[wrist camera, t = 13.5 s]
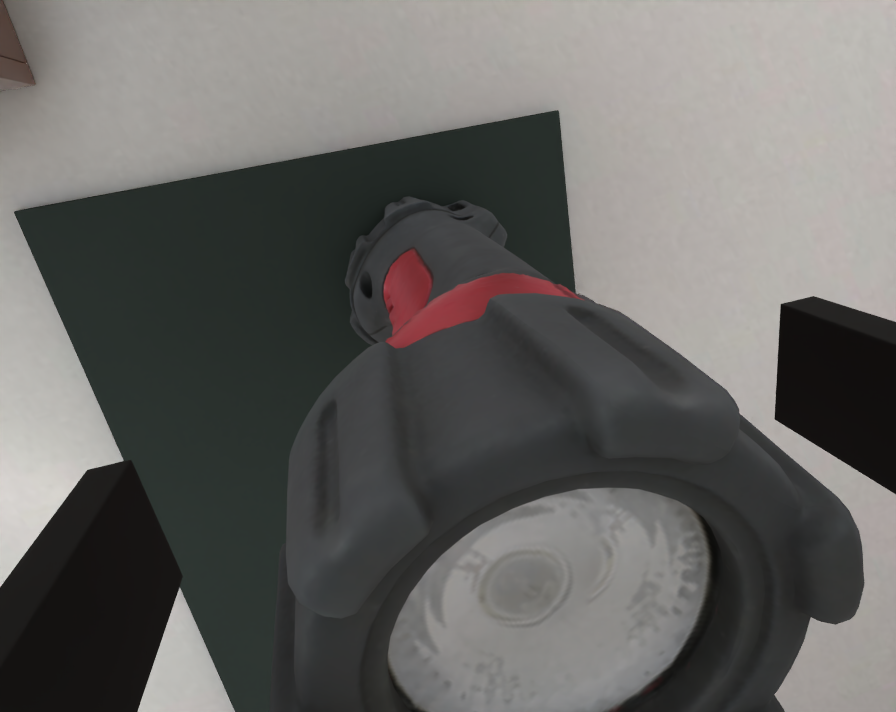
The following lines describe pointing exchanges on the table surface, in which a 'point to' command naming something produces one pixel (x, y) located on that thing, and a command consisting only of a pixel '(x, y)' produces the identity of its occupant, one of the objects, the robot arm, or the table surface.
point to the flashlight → (536, 505)
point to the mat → (258, 333)
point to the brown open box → (12, 56)
